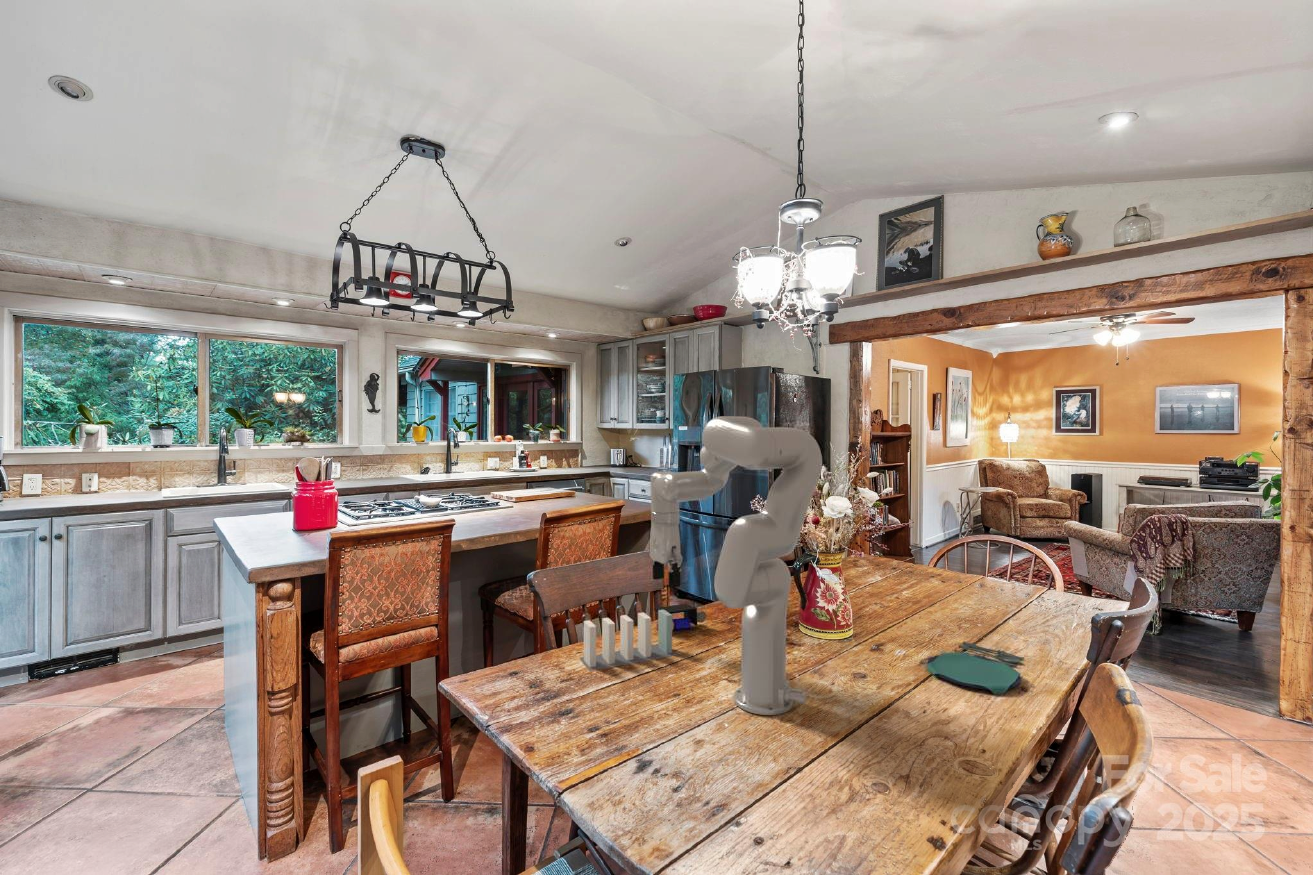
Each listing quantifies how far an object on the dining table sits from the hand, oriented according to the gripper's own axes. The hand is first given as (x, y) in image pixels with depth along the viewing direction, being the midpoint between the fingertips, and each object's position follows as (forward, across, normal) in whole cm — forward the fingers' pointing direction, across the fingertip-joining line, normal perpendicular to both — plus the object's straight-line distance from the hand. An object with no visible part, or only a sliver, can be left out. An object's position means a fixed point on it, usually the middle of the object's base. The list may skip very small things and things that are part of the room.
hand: (666, 582), depth 154 cm
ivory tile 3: (+18, -1, -16) cm, 24 cm away
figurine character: (+18, -14, +11) cm, 26 cm away
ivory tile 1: (+18, -1, -6) cm, 19 cm away
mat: (+18, -1, -11) cm, 21 cm away
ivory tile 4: (+18, -1, -21) cm, 28 cm away
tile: (+18, -1, 0) cm, 18 cm away
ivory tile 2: (+18, -1, -11) cm, 21 cm away
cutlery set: (+20, +42, +65) cm, 80 cm away
